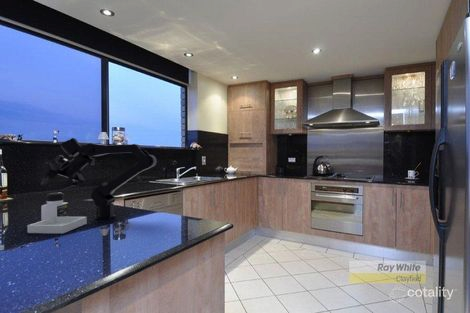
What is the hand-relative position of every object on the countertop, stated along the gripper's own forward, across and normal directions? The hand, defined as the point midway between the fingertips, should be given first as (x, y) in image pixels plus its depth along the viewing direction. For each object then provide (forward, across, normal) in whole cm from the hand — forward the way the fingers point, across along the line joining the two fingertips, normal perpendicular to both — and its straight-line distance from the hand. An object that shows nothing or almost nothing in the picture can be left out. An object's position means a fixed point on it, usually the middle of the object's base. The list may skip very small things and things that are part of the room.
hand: (50, 187), depth 116 cm
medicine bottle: (+7, -4, +13) cm, 15 cm away
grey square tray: (0, +4, +25) cm, 25 cm away
